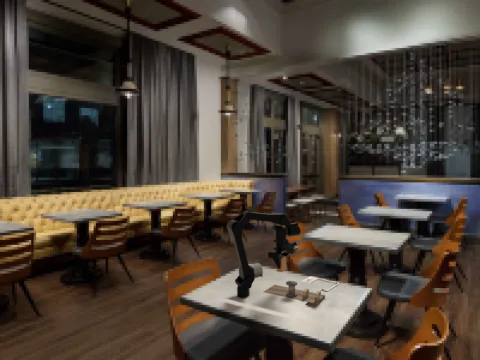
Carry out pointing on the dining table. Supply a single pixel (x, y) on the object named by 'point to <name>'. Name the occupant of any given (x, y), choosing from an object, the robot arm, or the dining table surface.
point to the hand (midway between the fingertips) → (281, 267)
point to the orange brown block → (282, 265)
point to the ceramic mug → (257, 269)
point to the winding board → (297, 293)
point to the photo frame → (312, 279)
